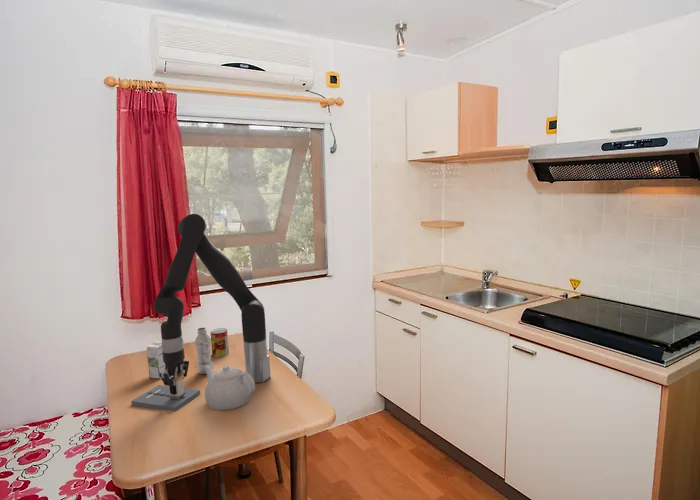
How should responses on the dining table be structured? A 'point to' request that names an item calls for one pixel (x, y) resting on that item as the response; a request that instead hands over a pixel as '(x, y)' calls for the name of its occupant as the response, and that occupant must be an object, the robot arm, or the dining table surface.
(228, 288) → the robot arm
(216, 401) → the teapot
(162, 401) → the console
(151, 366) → the syrup box
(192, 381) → the dining table surface
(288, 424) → the dining table surface
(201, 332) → the plastic bottle
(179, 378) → the fader knob
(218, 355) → the canned food
